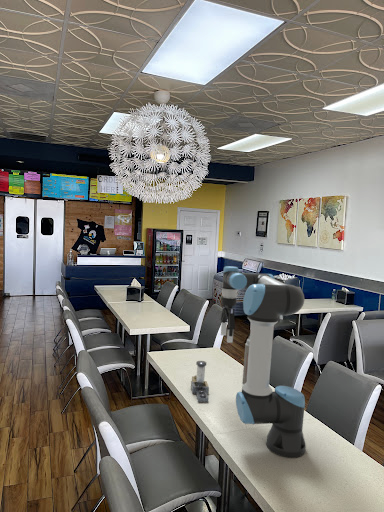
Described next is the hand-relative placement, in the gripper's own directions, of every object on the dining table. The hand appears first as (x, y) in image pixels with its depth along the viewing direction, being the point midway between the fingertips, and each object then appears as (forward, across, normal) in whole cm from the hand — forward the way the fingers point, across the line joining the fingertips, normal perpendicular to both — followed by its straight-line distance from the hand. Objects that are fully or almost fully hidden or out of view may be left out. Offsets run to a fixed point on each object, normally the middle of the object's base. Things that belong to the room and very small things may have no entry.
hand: (226, 338), depth 198 cm
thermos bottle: (+29, +15, -19) cm, 38 cm away
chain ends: (+29, +6, +11) cm, 32 cm away
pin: (+29, +6, +11) cm, 32 cm away
